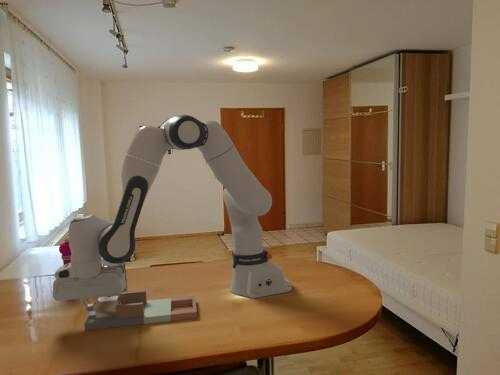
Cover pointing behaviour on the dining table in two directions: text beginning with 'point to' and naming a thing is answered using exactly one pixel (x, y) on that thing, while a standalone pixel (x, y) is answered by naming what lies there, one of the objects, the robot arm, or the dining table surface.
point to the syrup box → (123, 273)
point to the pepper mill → (65, 252)
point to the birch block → (106, 306)
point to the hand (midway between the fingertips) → (90, 310)
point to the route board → (143, 311)
